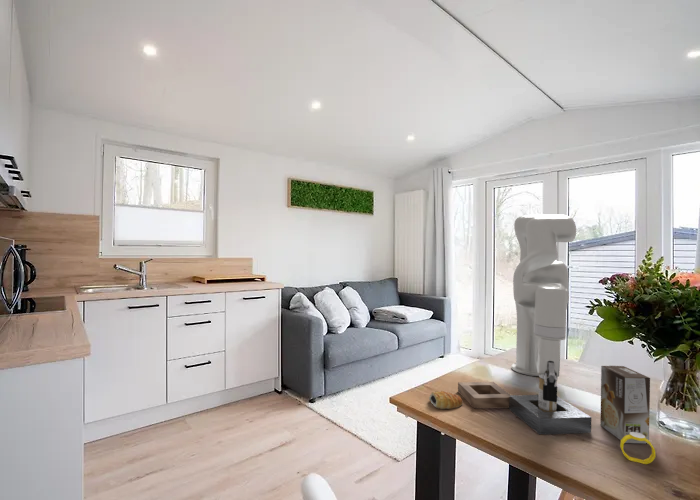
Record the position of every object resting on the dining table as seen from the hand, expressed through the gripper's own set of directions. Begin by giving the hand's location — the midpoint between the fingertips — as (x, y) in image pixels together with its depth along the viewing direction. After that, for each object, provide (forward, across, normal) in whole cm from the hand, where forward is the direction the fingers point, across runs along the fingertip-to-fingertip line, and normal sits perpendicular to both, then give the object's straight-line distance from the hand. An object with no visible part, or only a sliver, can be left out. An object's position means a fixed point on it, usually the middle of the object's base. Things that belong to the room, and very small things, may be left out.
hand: (547, 393), depth 97 cm
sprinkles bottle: (+7, 0, 0) cm, 7 cm away
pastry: (+8, +3, -27) cm, 28 cm away
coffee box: (+7, 0, +17) cm, 19 cm away
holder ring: (+7, -6, -16) cm, 19 cm away
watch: (+7, +13, +16) cm, 22 cm away
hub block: (+7, 0, 0) cm, 7 cm away
